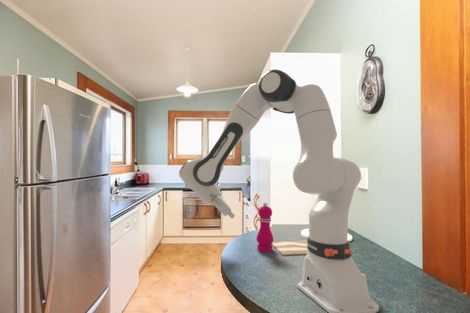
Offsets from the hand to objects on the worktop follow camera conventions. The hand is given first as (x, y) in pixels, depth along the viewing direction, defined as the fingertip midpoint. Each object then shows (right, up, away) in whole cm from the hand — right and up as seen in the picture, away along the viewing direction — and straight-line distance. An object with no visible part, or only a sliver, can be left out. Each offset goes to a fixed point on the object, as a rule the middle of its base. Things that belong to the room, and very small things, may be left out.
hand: (233, 216), depth 107 cm
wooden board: (+28, -15, +4) cm, 32 cm away
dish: (+47, -16, +24) cm, 55 cm away
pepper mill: (+14, -15, +2) cm, 20 cm away
